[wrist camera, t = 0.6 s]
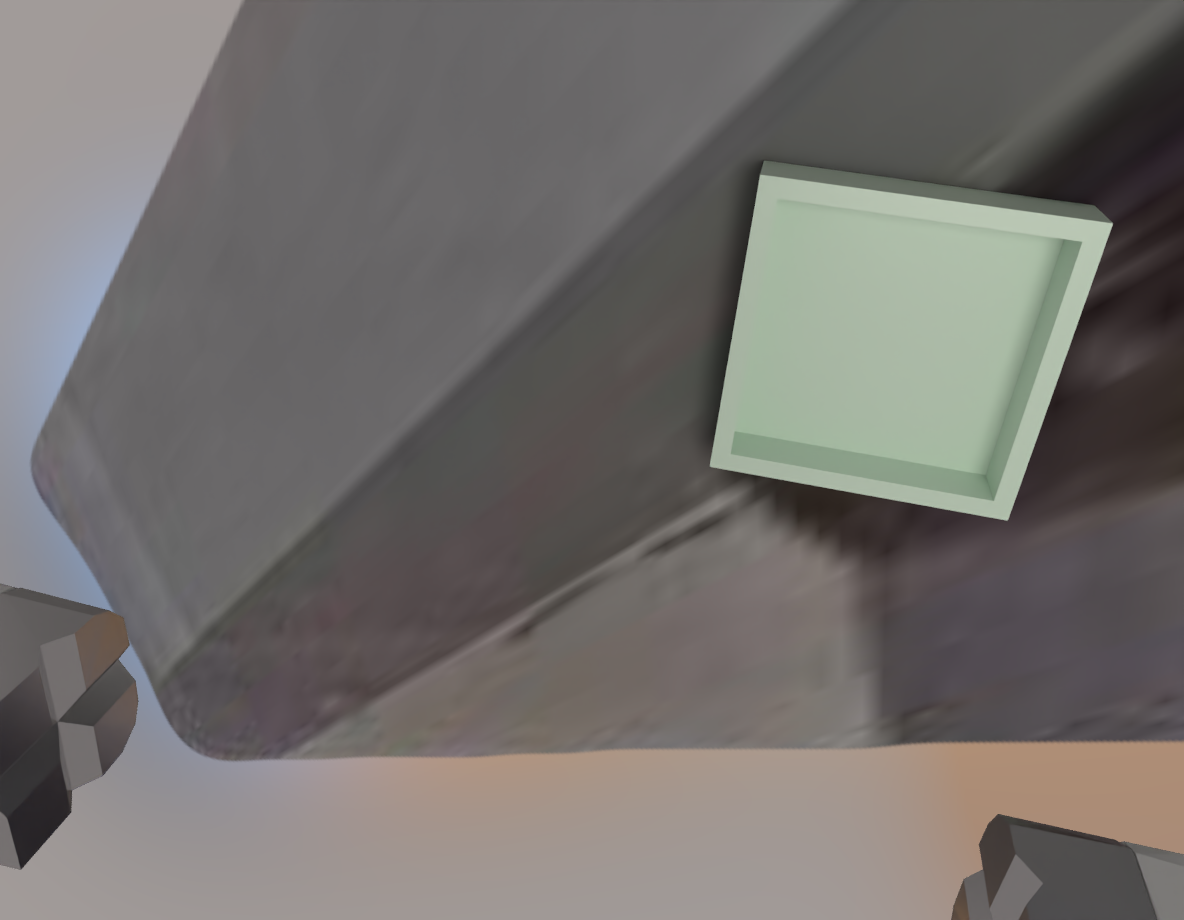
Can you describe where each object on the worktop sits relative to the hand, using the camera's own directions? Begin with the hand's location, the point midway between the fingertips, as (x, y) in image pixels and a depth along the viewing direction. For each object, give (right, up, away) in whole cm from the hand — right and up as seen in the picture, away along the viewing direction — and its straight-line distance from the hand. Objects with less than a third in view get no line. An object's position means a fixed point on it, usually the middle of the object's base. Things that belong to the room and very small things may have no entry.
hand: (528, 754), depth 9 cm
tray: (+16, +9, +43) cm, 47 cm away
